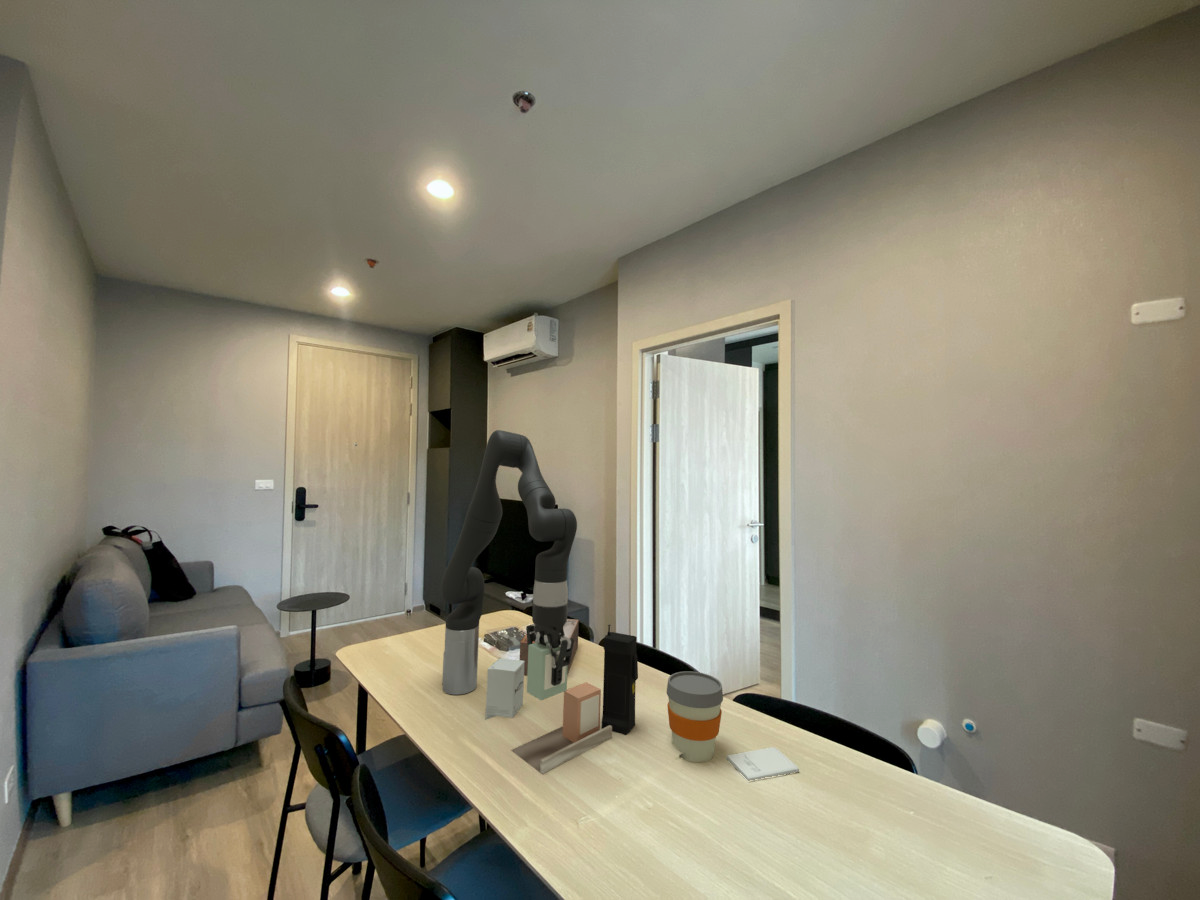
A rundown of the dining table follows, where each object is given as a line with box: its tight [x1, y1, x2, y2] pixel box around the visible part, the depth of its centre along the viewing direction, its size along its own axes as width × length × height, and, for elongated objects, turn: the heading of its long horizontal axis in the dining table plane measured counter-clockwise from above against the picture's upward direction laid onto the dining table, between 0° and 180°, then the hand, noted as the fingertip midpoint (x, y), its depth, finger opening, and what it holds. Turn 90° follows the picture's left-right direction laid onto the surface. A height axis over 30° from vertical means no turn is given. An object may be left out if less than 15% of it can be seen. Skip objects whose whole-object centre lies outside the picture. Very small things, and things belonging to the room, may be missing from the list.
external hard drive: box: [725, 746, 800, 781], centre depth 102 cm, size 2×8×12 cm
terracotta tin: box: [562, 681, 602, 743], centre depth 110 cm, size 5×7×10 cm
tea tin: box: [526, 643, 568, 701], centre depth 103 cm, size 5×7×10 cm
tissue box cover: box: [519, 618, 580, 677], centre depth 157 cm, size 26×14×10 cm, turn 175°
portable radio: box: [601, 624, 639, 736], centre depth 114 cm, size 8×6×25 cm
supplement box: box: [484, 657, 525, 721], centre depth 121 cm, size 7×7×13 cm
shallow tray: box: [510, 725, 613, 775], centre depth 106 cm, size 11×20×4 cm, turn 135°
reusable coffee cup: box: [666, 671, 724, 763], centre depth 108 cm, size 13×13×15 cm
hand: (547, 679), depth 103 cm, fingers closed on tea tin, 5 cm apart
